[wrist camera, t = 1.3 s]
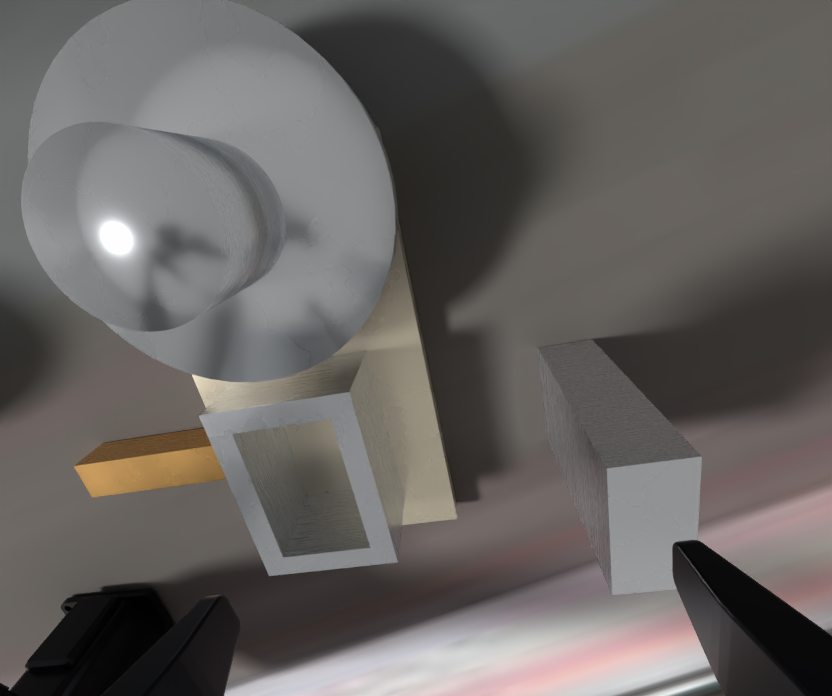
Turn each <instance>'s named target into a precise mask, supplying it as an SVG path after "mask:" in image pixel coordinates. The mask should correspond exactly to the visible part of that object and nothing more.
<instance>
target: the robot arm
mask: <svg viewBox="0 0 832 696" xmlns="http://www.w3.org/2000/svg"><path fill="white" fill-rule="evenodd" d="M672 573H673V579H674V583H675V585H676V588H677V590H678V593H679V595H680V597H681V600H682V602H683V604H684V606H685V609H686V611H687V613H688V616H689V618H690V620H691V622H692V625H693V627H694V629H695V631H696V634H697V636H698V638H699V641H700V643H701V645H702V647H703V650H704V652H705V654H706V657H707V659H708V661H709V663H710V666H711V668H712V670H713V672H714V674H715V677H716V679H717V681H718V683H719V685H720V687H721V689H722V691H723V692H724V694H725V696H832V635H830V634H829V633H827V632H826V631H825V630H823V629H822V628H820V627H819V626H818V625H816V624H815V623H813V622H812V621H811V620H809V619H808V618H806V617H805V616H804V615H802V614H801V613H800V612H798V611H797V610H795V609H794V608H793V607H791V606H790V605H788V604H787V603H786V602H784V601H783V600H781V599H780V598H779V597H777V596H776V595H774V594H773V593H772V592H770V591H769V590H767V589H766V588H765V587H763V586H762V585H760V584H759V583H758V582H756V581H755V580H753V579H752V578H751V577H749V576H748V575H746V574H745V573H744V572H742V571H741V570H739V569H738V568H737V567H735V566H734V565H733V564H731V563H730V562H728V561H727V560H726V559H724V558H723V557H721V556H720V555H719V554H717V553H716V552H714V551H713V550H712V549H710V548H709V547H707V546H706V545H705V544H703V543H702V542H700V541H698V540H686V541H677V542H675V543H674V544H673V546H672ZM61 609H62V611H63V612H64V613H65V615H66V616H65V617H64V618H63V619H62V621H61V622H60V623H59V624H58V625H57V627H56V628H55V629H54V630H53V631H52V632H51V634H50V635H49V636H48V637H47V638H46V640H45V641H44V642H43V643H42V644H41V645H40V647H39V648H38V649H37V650H36V651H35V653H34V654H33V655H32V656H31V657H30V658H29V660H28V661H27V663H26V665H25V668H26V669H27V671H26V672H25V673H24V674H23V675H22V677H21V678H20V679H19V680H18V681H17V683H16V684H15V685H14V686H13V687H12V689H11V690H10V691H9V690H8V689H9V687H7V686H5V685H3V684H1V683H0V696H224V693H225V689H226V685H227V681H228V677H229V673H230V669H231V665H232V661H233V657H234V653H235V649H236V644H237V640H238V636H239V631H240V622H239V618H238V616H237V615H236V613H235V611H234V609H233V607H232V606H231V604H230V602H229V600H228V598H227V597H226V596H224V595H212V596H207V597H204V598H203V599H202V600H200V601H199V602H198V603H197V604H196V605H195V606H194V607H193V608H192V609H191V610H190V611H189V612H188V613H187V614H186V615H185V616H184V617H183V618H182V619H180V620H179V621H178V622H177V623H176V624H175V625H173V623H172V621H171V620H170V618H169V616H168V615H167V613H166V611H165V609H164V608H163V606H162V604H161V603H160V601H159V599H158V597H157V596H156V594H155V593H154V592H153V591H151V590H137V591H128V592H118V593H109V594H99V595H90V596H81V597H71V598H67V599H66V600H65V601H64V602H63V604H62V605H61Z"/></svg>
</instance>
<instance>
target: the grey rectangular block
mask: <svg viewBox="0 0 832 696" xmlns="http://www.w3.org/2000/svg"><path fill="white" fill-rule="evenodd" d="M538 357H539V367H540V377H541V387H542V396H543V406H544V416H545V426H546V436H547V439H548V441H549V444H550V446H551V448H552V451H553V453H554V456H555V458H556V461H557V463H558V465H559V468H560V470H561V473H562V475H563V477H564V480H565V482H566V485H567V487H568V490H569V492H570V494H571V497H572V499H573V502H574V504H575V506H576V509H577V511H578V514H579V516H580V519H581V521H582V523H583V526H584V528H585V531H586V533H587V535H588V538H589V540H590V543H591V545H592V548H593V550H594V552H595V555H596V557H597V560H598V562H599V564H600V567H601V569H602V572H603V574H604V577H605V579H606V581H607V584H608V586H609V589H610V591H611V593H612V595H622V594H633V593H644V592H655V591H666V590H676V589H677V588H676V585H675V583H674V579H673V573H672V546H673V544H674V543H675V542H677V541H686V540H697V537H698V518H699V500H700V481H701V462H702V456H701V455H700V454H699V453H698V452H697V451H696V450H695V449H694V448H693V447H692V445H691V444H690V443H689V442H688V441H687V440H686V439H685V438H684V437H683V436H682V435H681V434H680V433H679V432H678V431H677V429H676V428H675V427H674V426H673V425H672V424H671V423H670V422H669V421H668V420H667V419H666V418H665V417H664V416H663V415H662V413H661V412H660V411H659V410H658V409H657V408H656V407H655V406H654V405H653V404H652V403H651V402H650V401H649V400H648V398H647V397H646V396H645V395H644V394H643V393H642V392H641V391H640V390H639V389H638V388H637V387H636V386H635V385H634V384H633V382H632V381H631V380H630V379H629V378H628V377H627V376H626V375H625V374H624V373H623V372H622V371H621V370H620V369H619V368H618V366H617V365H616V364H615V363H614V362H613V361H612V360H611V359H610V358H609V357H608V356H607V355H606V354H605V353H604V352H603V350H602V349H601V348H600V347H599V346H598V345H597V344H596V343H595V342H594V341H593V340H592V339H590V340H583V341H577V342H571V343H565V344H558V345H552V346H546V347H540V348H538Z"/></svg>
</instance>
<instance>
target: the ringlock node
mask: <svg viewBox="0 0 832 696" xmlns="http://www.w3.org/2000/svg"><path fill="white" fill-rule="evenodd" d="M21 207H22V217H23V221H24V226H25V230H26V233H27V236H28V239H29V242H30V244H31V247H32V249H33V251H34V253H35V255H36V257H37V259H38V260H39V262H40V264H41V266H42V267H43V269H44V270H45V272H46V273H47V274H48V276H49V277H50V278H51V280H52V281H53V282H54V283H55V284H56V285H57V287H58V288H59V289H60V290H61V291H62V292H63V293H64V294H65V295H66V296H67V297H68V298H69V299H71V300H72V301H73V302H74V303H76V304H77V305H78V306H79V307H81V308H82V309H84V310H85V311H87V312H88V313H90V314H91V315H93V316H95V317H97V318H99V319H101V320H103V321H104V322H105V323H106V324H107V325H108V326H109V327H110V328H111V329H112V330H113V331H114V332H116V333H117V334H118V335H120V336H121V337H122V338H123V339H125V340H126V341H127V342H129V343H130V344H131V345H133V346H134V347H136V348H138V349H139V350H141V351H142V352H144V353H145V354H147V355H149V356H150V357H152V358H154V359H156V360H158V361H160V362H162V363H164V364H166V365H168V366H171V367H173V368H176V369H179V370H181V371H184V372H187V373H189V374H192V376H193V379H194V381H195V383H196V386H197V388H198V390H199V393H200V395H201V397H202V400H203V402H204V404H205V407H206V409H205V410H204V411H203V412H202V413H201V414H200V415H199V418H200V420H201V422H202V424H203V427H204V428H200V429H193V430H186V431H180V432H173V433H167V434H160V435H154V436H147V437H141V438H134V439H127V440H121V441H114V442H108V443H102V444H101V445H100V446H99V447H97V448H96V449H95V450H94V451H92V452H91V453H90V454H89V455H87V456H86V457H85V458H84V459H82V460H81V461H80V462H79V463H77V464H76V465H75V466H74V467H75V469H76V471H77V472H78V474H79V476H80V477H81V479H82V481H83V483H84V484H85V486H86V488H87V489H88V491H89V493H90V494H91V496H92V497H98V496H106V495H113V494H120V493H128V492H135V491H142V490H150V489H157V488H164V487H172V486H179V485H186V484H194V483H201V482H208V481H216V480H223V479H227V481H228V484H229V486H230V488H231V490H232V493H233V495H234V497H235V500H236V502H237V504H238V506H239V509H240V511H241V513H242V515H243V518H244V520H245V522H246V525H247V527H248V529H249V531H250V534H251V536H252V538H253V541H254V543H255V545H256V547H257V550H258V552H259V554H260V556H261V559H262V561H263V563H264V566H265V568H266V570H267V572H268V575H269V576H275V575H284V574H293V573H303V572H312V571H322V570H331V569H340V568H350V567H359V566H369V565H378V564H387V563H397V562H398V558H399V548H400V539H401V529H402V525H407V524H416V523H424V522H433V521H441V520H450V519H457V503H456V498H455V493H454V488H453V483H452V478H451V473H450V469H449V464H448V459H447V454H446V449H445V444H444V439H443V434H442V430H441V425H440V420H439V415H438V410H437V405H436V400H435V395H434V391H433V386H432V381H431V376H430V371H429V366H428V361H427V356H426V352H425V347H424V342H423V337H422V332H421V327H420V322H419V317H418V312H417V308H416V303H415V298H414V293H413V288H412V283H411V278H410V273H409V269H408V264H407V259H406V254H405V249H404V244H403V239H402V234H401V230H400V225H399V220H398V202H397V195H396V188H395V181H394V177H393V173H392V169H391V166H390V162H389V158H388V155H387V152H386V150H385V147H384V145H383V142H382V137H381V132H380V129H379V128H378V127H377V126H375V125H374V123H373V121H372V119H371V117H370V116H369V114H368V112H367V110H366V108H365V107H364V105H363V104H362V102H361V101H360V100H359V98H358V97H357V95H356V94H355V93H354V91H353V90H352V88H351V87H350V86H349V85H348V83H347V82H346V81H345V80H344V79H343V78H342V77H341V76H340V75H339V74H338V72H337V71H336V70H335V69H334V68H333V67H332V66H331V65H330V64H329V63H328V62H327V61H326V60H325V59H324V58H323V57H322V56H321V55H320V54H319V53H318V52H317V51H316V50H314V49H313V48H312V47H311V46H310V45H309V44H307V43H306V42H305V41H304V40H303V39H301V38H300V37H299V36H298V35H297V34H295V33H293V32H292V31H290V30H289V29H287V28H286V27H284V26H283V25H281V24H280V23H278V22H276V21H275V20H273V19H272V18H270V17H268V16H265V15H263V14H261V13H259V12H257V11H255V10H253V9H250V8H248V7H246V6H244V5H240V4H237V3H234V2H230V1H227V0H131V1H128V2H126V3H123V4H120V5H118V6H115V7H113V8H110V9H109V10H107V11H105V12H104V13H102V14H100V15H99V16H97V17H96V18H94V19H92V20H91V21H89V22H88V23H87V24H86V25H84V26H83V27H82V28H81V29H80V30H79V31H78V32H77V33H76V34H74V35H73V36H72V37H71V38H70V39H69V40H68V42H67V43H66V44H65V45H64V47H63V48H62V49H61V51H60V52H59V53H58V54H57V56H56V57H55V58H54V60H53V62H52V64H51V66H50V67H49V69H48V71H47V73H46V75H45V77H44V78H43V80H42V83H41V86H40V89H39V92H38V94H37V97H36V100H35V103H34V107H33V112H32V118H31V123H30V128H29V144H28V166H27V169H26V171H25V174H24V178H23V184H22V191H21Z"/></svg>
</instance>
